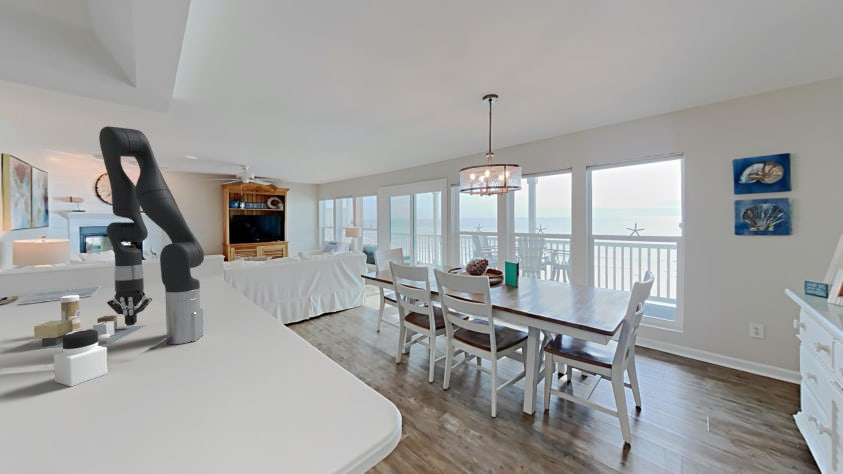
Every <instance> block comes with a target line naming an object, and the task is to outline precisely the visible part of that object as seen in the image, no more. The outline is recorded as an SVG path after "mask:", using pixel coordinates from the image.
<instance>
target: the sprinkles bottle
mask: <svg viewBox="0 0 843 474" xmlns="http://www.w3.org/2000/svg"><path fill="white" fill-rule="evenodd" d="M59 299H60V300H59V301H60V306H61V309H60V310H61V311H60V314H61V316H60V317H61V320H72V328H73V331H74V330H78V329H80V328H81V317H80V316H81V315H80V314H81V312H80V295H79V294H72V295H69V294H68V295H63V296H61V297H60V298H59Z"/></svg>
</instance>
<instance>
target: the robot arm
mask: <svg viewBox="0 0 843 474" xmlns="http://www.w3.org/2000/svg"><path fill="white" fill-rule="evenodd" d="M98 136H99V137H98V139H99V145H100V146H99V147H100V150H101V155H102V159H103V163H104V166H105V170H106V173H107V177H108V180H109V181H108V182H109V185H110V190H111V191H110V192H111V204H112V205H111V206H112V214H113V215H114V216H116V217H119V218H125V219H129V220H131V222H126V221H125V222H124V221H123V222H121V221H117V222H114V221H113V222H111V223H109V224H108V226H106V235H107V238H108V239H109V242H110V244H111V246H112V250H113V252H114V253H113V254H114V273H113V274H114V276H113V277H114V292H115V295H114V298H112V299H110V300H108V301H107V302H106V304H107V305H108V306H109V307H110V308H111V309H112V310H113V311H114V312H115V313H116V315H123V316H124V325H126V327H129V326H135V325H136V324H137V321H138V316H137V315H138V314H140V313H141V312H143V311H144V310H145V309H146V308H147V307H148V306H149V304H150V303H151V302H152V301H153V298H152V297H147V296H146V293H145V292H144V287H145V283H144V282H145V281H144V280H145V279H144V268H143V255H142V254H143V253H142V250H141V249H139V248H135V247H127V246H125V245H123V243H132V242H133V243H134V242H137V243H138V242H139V243H140V242H143V241H146V240H147V237H148V236H149V235H148V234H149V231H148V229H147V226H146V224H145V222H144V220H143V217H142V211H143V213H144V214H145V215H146V216H147V217H148V219H150V220H151V222H153V223H154V224H156V225H157V226H158V227H159V228H160V229H162V231H163V232H165V234H166V235H167V237H168V238H169V240H170V242H171V243H168V244H167V245H165V246H163V248H162V250H161V252H160V257H159V265H160V273H161V275H160V277H161V281H162V284H163V286H164V289H165V318H166V321H165V322H166V325H165V326H166V343H167V344H168V345H181V344H186V343H191V341H192V342H197V341H198V340H199V339H200V338H202V337H203V336H204V335H203V334H204V309H203V308H201V290H200V289H201V286H200V284H201V283H200V280H199V279H197V278H195V277H193V276H192V273H191V269H193V268H194V269H195V268H196V267H197V268H198V267H199V266H201V265H202V264H203V262H204V259H205V254H204V253H205V252H204V250H203V247H202V245H201V244H200V242H199V241H198V239H197V238H196V237H195V235H194V233H193V232H192V230H191V229H190V227H189V225H188V223H187V222H186V220H185V217H184V215H183V214H182V212H181V210H180V208H179V206H178V204H177V201H176V199H175V197H174V196H173V194H172V191H171V190H170V188H169V186H168V185H167V183H166V180H165V179H164V176H163V174H162V171H161V169H160V168H159V165H158V163H157V159H156V157H155V154H154V151H153V149H152V146H151V144H150V141H149V140H148V138H147V136H146V135H145V134H144V132H142V131H141V130H139V129H134V128H127V127H126V128H125V127H119V126H118V127H117V126H111V125H110V126H108V125H107V126H103V127H102V128H101V129H100V132H99V135H98ZM122 157H128V158H130V157H131V158H134V159H135V160H136V162H137V164H138V167H139V176H138V178H137V181H136V184H135V183H134V182H133V180H131V179H130V177H129V176H128V174H127V173H126V172H125V170H124V167H123V165H122V159H121V158H122ZM141 210H142V211H141ZM139 303H141V304H139ZM202 335H203V336H202ZM201 336H202V337H201ZM199 337H200V338H199ZM198 338H199V339H198ZM197 339H198V340H197Z"/></svg>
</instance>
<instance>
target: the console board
mask: <svg viewBox="0 0 843 474" xmlns="http://www.w3.org/2000/svg"><path fill="white" fill-rule="evenodd" d="M146 326H147V325H145V324H144V325H132V326H117V328H115V329H114V335H112V336H110V334H102V335H99V336H98V345H97V346H100V345H110V344H111V345H112V344H113V343H115V342H116V341H119V340H121V339H122V338H124V337H127V336H128V335H131V334H132V333H134V332H137V331H138V330H140V329H143V328H144V327H146ZM88 329H89V328H86V329H79V330H78V329H77V331H80V330H88ZM90 329H91V330H93V328H90ZM65 335H67V334H64V335H62V336H59V337H54V338H41V343H42V344H41V345H38V346H35V347H33V348H30V350H42V349H56V348H59V349H60V348H63V341H62V338H63V337H64V336H65Z"/></svg>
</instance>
